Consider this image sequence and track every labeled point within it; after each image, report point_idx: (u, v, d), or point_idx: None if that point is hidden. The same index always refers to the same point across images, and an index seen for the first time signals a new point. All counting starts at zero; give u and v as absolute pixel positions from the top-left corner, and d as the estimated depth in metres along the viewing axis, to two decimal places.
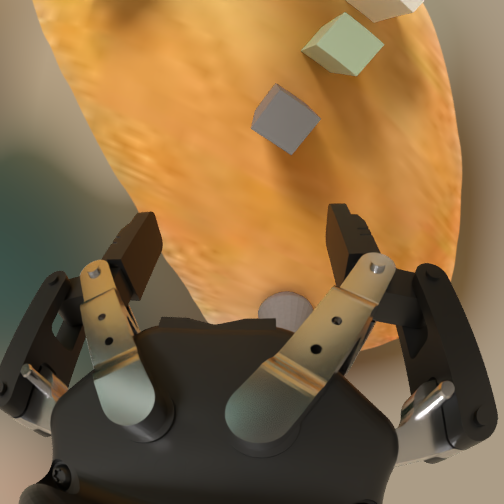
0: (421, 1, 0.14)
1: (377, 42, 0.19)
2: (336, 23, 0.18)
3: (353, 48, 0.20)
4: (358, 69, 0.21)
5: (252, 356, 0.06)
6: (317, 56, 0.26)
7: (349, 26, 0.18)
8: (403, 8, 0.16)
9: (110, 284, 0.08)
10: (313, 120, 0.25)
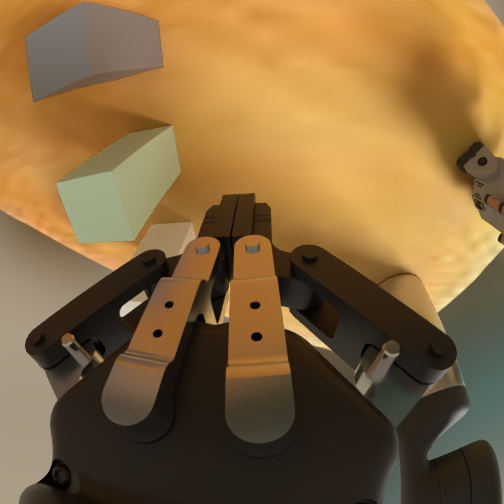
0: None
1: (84, 238, 0.17)
2: (124, 218, 0.16)
3: (86, 207, 0.16)
4: (61, 192, 0.15)
5: None
6: (134, 143, 0.20)
7: (113, 228, 0.17)
8: None
9: (206, 271, 0.08)
10: (36, 91, 0.11)
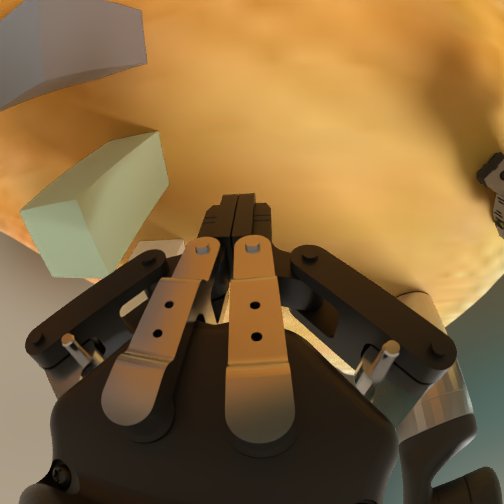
0: None
1: (56, 272, 0.14)
2: (97, 254, 0.13)
3: (54, 239, 0.13)
4: (26, 221, 0.12)
5: None
6: (111, 155, 0.16)
7: (86, 263, 0.13)
8: None
9: (206, 271, 0.08)
10: None
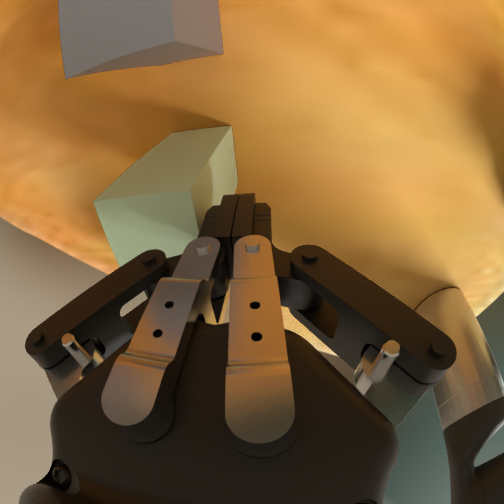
0: None
1: None
2: None
3: (141, 237, 0.12)
4: (102, 213, 0.12)
5: None
6: (194, 146, 0.16)
7: None
8: None
9: (206, 271, 0.08)
10: (72, 62, 0.07)
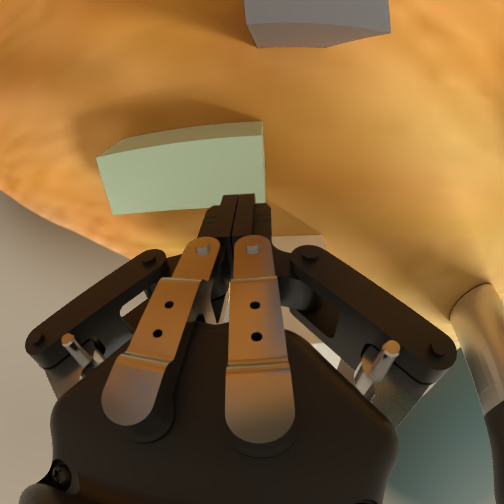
0: None
1: None
2: (107, 195, 0.19)
3: None
4: None
5: None
6: (183, 136, 0.18)
7: None
8: None
9: (206, 271, 0.08)
10: (260, 7, 0.06)
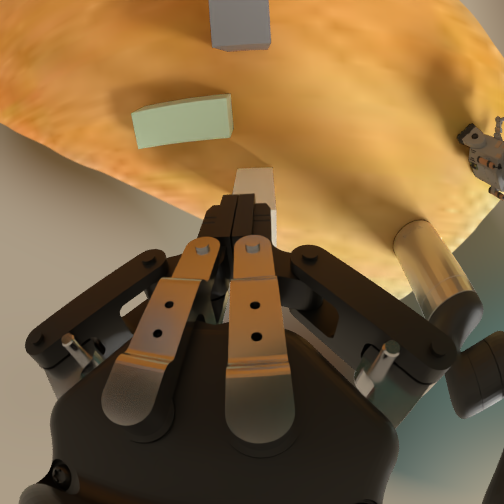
0: None
1: None
2: (136, 136, 0.31)
3: None
4: None
5: None
6: (184, 101, 0.30)
7: None
8: None
9: (206, 271, 0.08)
10: (217, 40, 0.18)
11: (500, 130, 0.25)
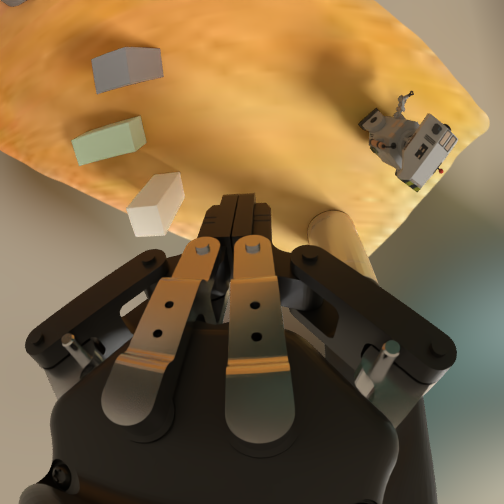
0: (131, 221, 0.38)
1: None
2: (76, 157, 0.39)
3: None
4: None
5: None
6: (104, 127, 0.37)
7: None
8: (133, 204, 0.37)
9: (206, 271, 0.08)
10: (99, 88, 0.26)
11: (401, 109, 0.31)
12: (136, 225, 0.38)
